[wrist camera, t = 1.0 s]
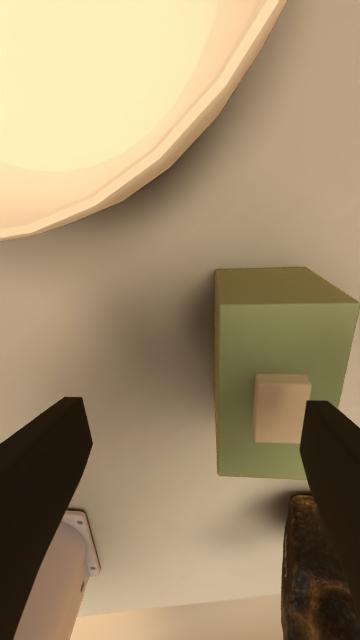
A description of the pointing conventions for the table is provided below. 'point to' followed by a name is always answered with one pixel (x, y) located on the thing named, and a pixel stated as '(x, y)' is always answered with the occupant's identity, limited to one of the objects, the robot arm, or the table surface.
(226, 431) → the tissue box
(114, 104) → the bowl
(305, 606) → the statue
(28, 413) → the table surface
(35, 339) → the table surface
